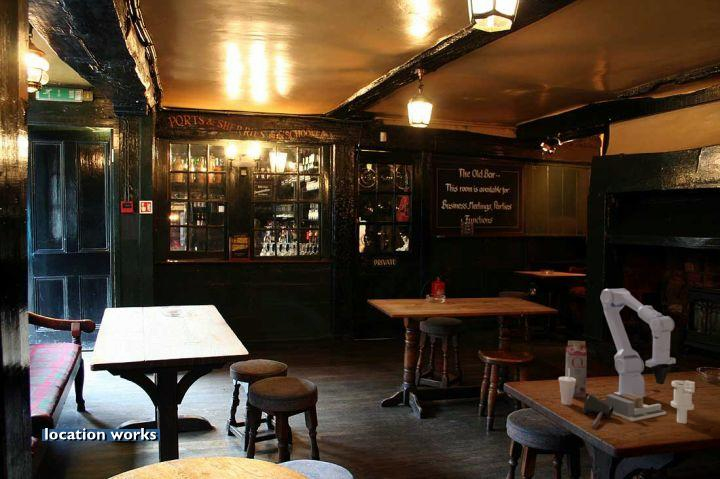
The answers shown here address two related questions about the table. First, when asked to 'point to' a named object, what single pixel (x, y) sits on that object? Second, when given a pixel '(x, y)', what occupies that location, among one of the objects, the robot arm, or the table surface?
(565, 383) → the smoothie
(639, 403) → the gauge slider
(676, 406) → the white stepped post
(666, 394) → the table surface
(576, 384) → the juice carton
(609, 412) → the coffee pot
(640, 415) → the gauge base
